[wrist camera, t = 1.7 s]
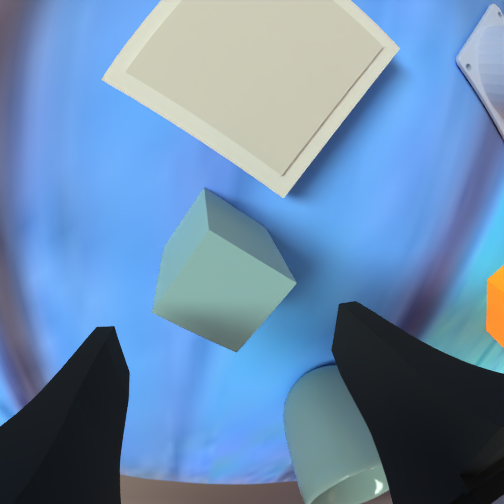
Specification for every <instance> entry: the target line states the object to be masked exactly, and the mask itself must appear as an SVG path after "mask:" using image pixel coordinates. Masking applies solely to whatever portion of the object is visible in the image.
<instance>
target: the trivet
mask: <svg viewBox="0 0 504 504" xmlns="http://www.w3.org/2000/svg"><path fill="white" fill-rule="evenodd" d="M399 49H400V48H399V47H398V46H397V45H396V44H395V43H394V41H393V40H392V39H391V38H390V37H389V36H388V35H387V34H386V33H385V32H384V31H383V30H382V29H381V28H380V27H379V26H378V25H377V24H376V23H375V22H374V21H373V20H372V19H370V18H369V17H368V16H367V15H366V14H365V13H364V12H363V11H362V10H361V9H360V8H359V7H357V6H356V5H355V4H354V3H353V2H352V1H351V0H161V1H160V2H159V4H158V5H157V6H156V7H155V8H154V9H153V11H152V12H151V13H150V14H149V15H148V17H147V18H146V19H145V20H144V22H143V23H142V24H141V25H140V26H139V28H138V29H137V30H136V32H135V33H134V34H133V35H132V37H131V38H130V39H129V41H128V42H127V43H126V45H125V46H124V47H123V49H122V50H121V52H120V53H119V54H118V56H117V57H116V59H115V60H114V62H113V63H112V64H111V66H110V67H109V69H108V70H107V72H106V73H105V75H104V76H103V78H102V79H101V80H103V81H104V82H106V83H108V84H110V85H111V86H113V87H115V88H116V89H118V90H120V91H122V92H123V93H125V94H127V95H128V96H130V97H132V98H133V99H135V100H136V101H138V102H140V103H141V104H143V105H145V106H146V107H148V108H150V109H151V110H153V111H154V112H156V113H158V114H159V115H161V116H162V117H164V118H166V119H167V120H169V121H170V122H172V123H173V124H175V125H177V126H178V127H180V128H181V129H183V130H184V131H186V132H187V133H189V134H191V135H192V136H194V137H195V138H197V139H198V140H200V141H201V142H203V143H204V144H206V145H207V146H209V147H210V148H212V149H213V150H215V151H216V152H218V153H219V154H221V155H222V156H224V157H225V158H227V159H228V160H230V161H231V162H233V163H234V164H235V165H237V166H238V167H240V168H241V169H243V170H244V171H246V172H247V173H248V174H250V175H251V176H253V177H254V178H256V179H257V180H258V181H260V182H261V183H263V184H264V185H266V186H267V187H268V188H270V189H271V190H273V191H274V192H275V193H277V194H278V195H280V196H281V197H282V198H284V197H285V196H286V195H287V193H288V192H289V191H290V189H291V188H292V187H293V185H294V184H295V183H296V182H297V180H298V179H299V178H300V176H301V175H302V174H303V172H304V171H305V170H306V169H307V167H308V166H309V165H310V163H311V162H312V161H313V160H314V158H315V157H316V156H317V154H318V153H319V152H320V150H321V149H322V148H323V147H324V145H325V144H326V143H327V141H328V140H329V139H330V138H331V136H332V135H333V134H334V132H335V131H336V130H337V129H338V127H339V126H340V125H341V123H342V122H343V121H344V120H345V118H346V117H347V116H348V114H349V113H350V112H351V111H352V109H353V108H354V107H355V105H356V104H357V103H358V102H359V100H360V99H361V98H362V96H363V95H364V94H365V93H366V91H367V90H368V89H369V87H370V86H371V85H372V84H373V82H374V81H375V80H376V79H377V77H378V76H379V75H380V73H381V72H382V71H383V70H384V68H385V67H386V66H387V64H388V63H389V62H390V61H391V59H392V58H393V57H394V56H395V54H396V53H397V52H398V50H399Z"/></svg>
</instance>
